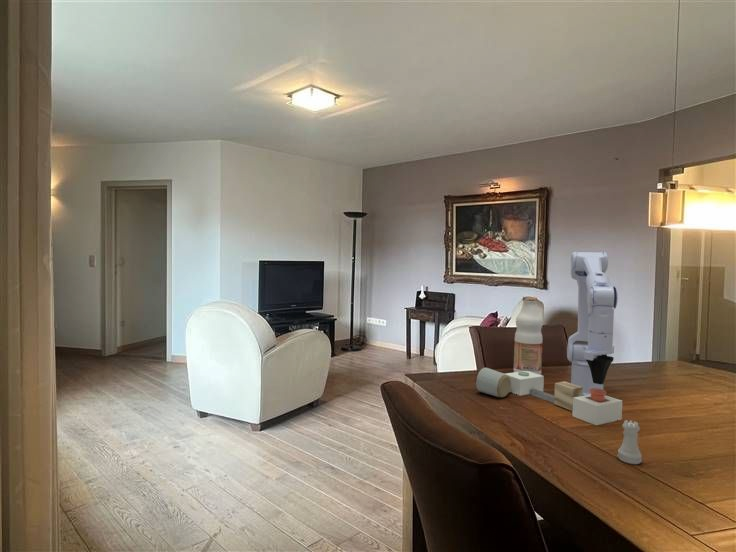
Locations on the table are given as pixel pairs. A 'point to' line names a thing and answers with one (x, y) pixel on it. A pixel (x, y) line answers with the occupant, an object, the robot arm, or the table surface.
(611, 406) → the white button housing
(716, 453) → the table surface
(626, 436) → the rook chess piece
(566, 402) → the block
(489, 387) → the ceramic mug
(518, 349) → the fruit juice
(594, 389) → the knob
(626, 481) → the table surface
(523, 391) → the white button box
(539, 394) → the rail
